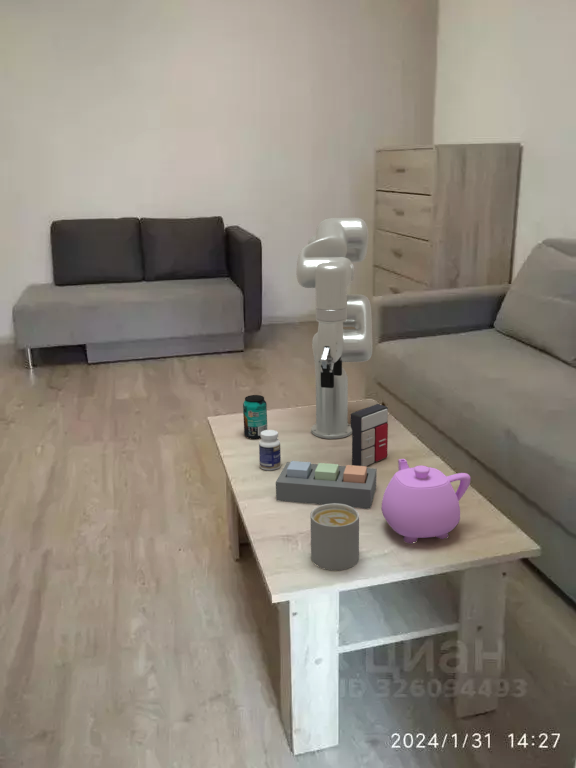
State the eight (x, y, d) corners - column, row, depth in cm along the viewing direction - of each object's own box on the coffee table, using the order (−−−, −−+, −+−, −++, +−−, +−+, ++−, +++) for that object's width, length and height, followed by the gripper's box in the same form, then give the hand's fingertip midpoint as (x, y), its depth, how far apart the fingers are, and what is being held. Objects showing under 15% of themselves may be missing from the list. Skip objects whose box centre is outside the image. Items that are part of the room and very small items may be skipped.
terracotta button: (346, 483, 176) (346, 464, 175) (366, 484, 175) (366, 466, 174) (343, 492, 172) (343, 473, 170) (364, 494, 171) (364, 475, 169)
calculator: (361, 470, 188) (362, 417, 184) (350, 465, 192) (350, 413, 187) (389, 458, 195) (390, 407, 191) (377, 453, 198) (378, 403, 194)
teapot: (444, 499, 171) (447, 441, 167) (483, 540, 153) (488, 477, 148) (367, 509, 168) (367, 450, 163) (397, 553, 149) (399, 488, 144)
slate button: (291, 478, 180) (291, 460, 178) (311, 480, 178) (310, 462, 177) (287, 487, 175) (286, 469, 173) (307, 489, 174) (306, 470, 172)
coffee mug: (366, 565, 145) (366, 521, 142) (320, 574, 142) (319, 530, 139) (342, 534, 157) (342, 493, 154) (299, 541, 154) (298, 500, 151)
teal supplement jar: (249, 430, 218) (248, 393, 214) (270, 432, 216) (269, 395, 212) (240, 438, 212) (238, 400, 208) (262, 441, 209) (260, 402, 206)
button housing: (287, 479, 184) (287, 461, 182) (376, 486, 179) (376, 468, 177) (276, 500, 173) (275, 482, 171) (370, 508, 168) (370, 489, 166)
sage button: (319, 481, 178) (318, 462, 176) (338, 482, 177) (338, 464, 175) (315, 489, 173) (314, 471, 172) (335, 491, 172) (335, 472, 171)
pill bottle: (278, 471, 189) (277, 437, 186) (257, 470, 190) (256, 435, 187) (282, 463, 194) (281, 429, 191) (262, 461, 195) (261, 428, 192)
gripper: (324, 305, 180) (324, 369, 186) (307, 322, 165) (308, 391, 170) (353, 307, 179) (352, 371, 184) (339, 323, 163) (339, 393, 168)
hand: (331, 381), depth 177 cm, fingers open, 9 cm apart
